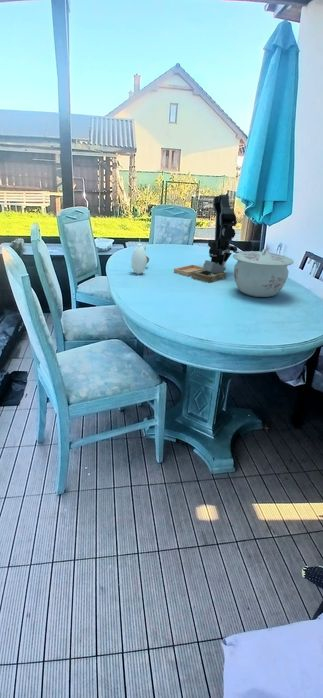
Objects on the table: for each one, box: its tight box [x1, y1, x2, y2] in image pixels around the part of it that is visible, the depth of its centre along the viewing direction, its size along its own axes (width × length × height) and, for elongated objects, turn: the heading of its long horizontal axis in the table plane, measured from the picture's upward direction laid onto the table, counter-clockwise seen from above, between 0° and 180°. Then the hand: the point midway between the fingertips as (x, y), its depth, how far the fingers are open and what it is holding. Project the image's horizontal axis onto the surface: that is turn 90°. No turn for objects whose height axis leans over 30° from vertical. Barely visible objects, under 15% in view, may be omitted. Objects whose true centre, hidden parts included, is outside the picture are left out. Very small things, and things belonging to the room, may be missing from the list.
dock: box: [190, 270, 227, 284], centre depth 201 cm, size 15×12×3 cm
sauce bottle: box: [130, 238, 148, 275], centre depth 199 cm, size 8×8×18 cm
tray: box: [173, 264, 203, 277], centre depth 211 cm, size 17×10×2 cm, turn 138°
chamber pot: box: [232, 248, 295, 298], centre depth 177 cm, size 28×27×21 cm
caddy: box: [202, 260, 227, 275], centre depth 203 cm, size 12×6×8 cm, turn 136°
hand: (221, 265), depth 207 cm, fingers closed on caddy
